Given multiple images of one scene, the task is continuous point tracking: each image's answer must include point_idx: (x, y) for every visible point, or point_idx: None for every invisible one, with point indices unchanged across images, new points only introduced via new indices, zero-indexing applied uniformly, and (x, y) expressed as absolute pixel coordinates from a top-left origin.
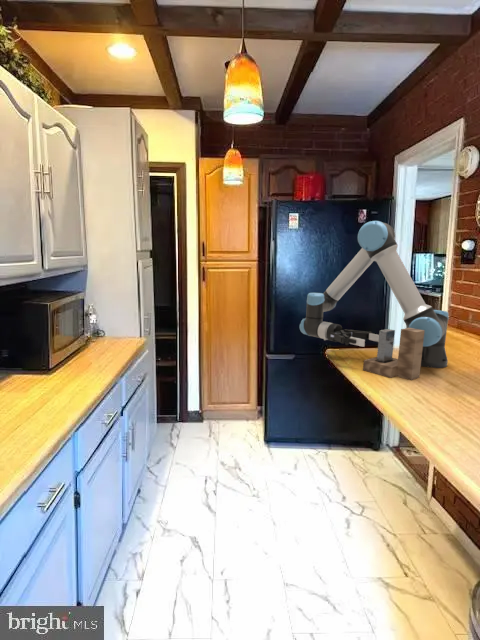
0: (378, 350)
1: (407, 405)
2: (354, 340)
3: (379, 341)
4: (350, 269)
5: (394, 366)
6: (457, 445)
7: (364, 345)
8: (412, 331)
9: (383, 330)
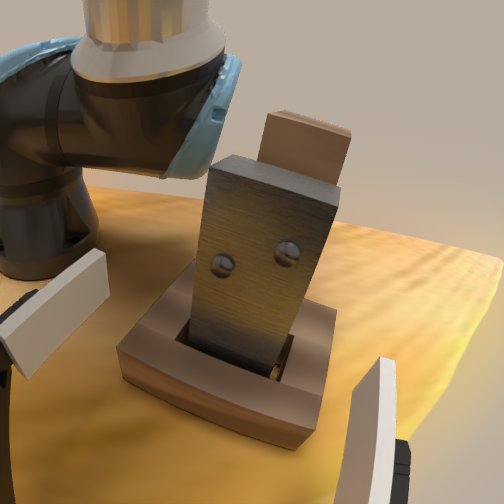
0: (290, 328)
1: (452, 295)
2: (407, 445)
3: (309, 279)
4: None
5: (315, 303)
6: (479, 259)
7: (357, 386)
8: (350, 132)
9: (310, 190)
